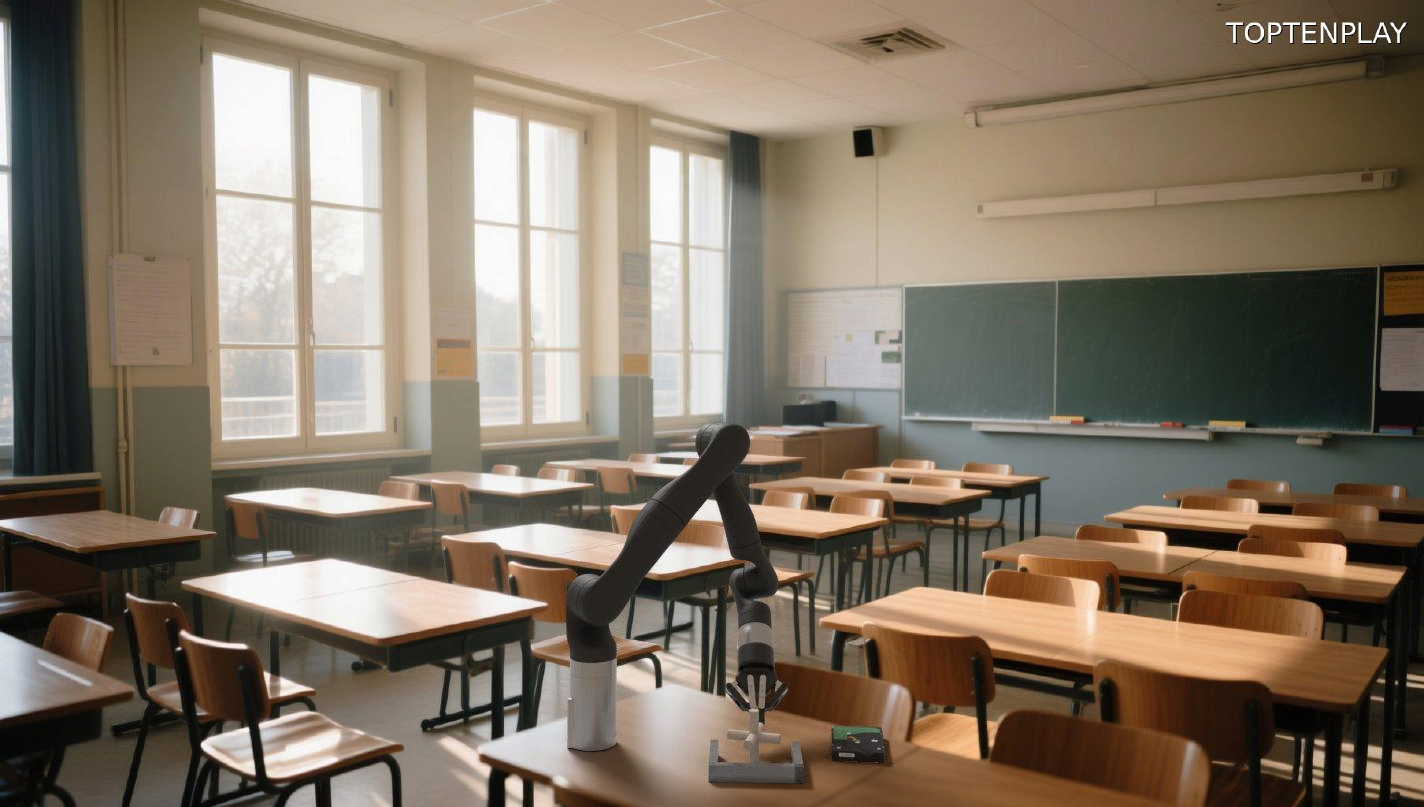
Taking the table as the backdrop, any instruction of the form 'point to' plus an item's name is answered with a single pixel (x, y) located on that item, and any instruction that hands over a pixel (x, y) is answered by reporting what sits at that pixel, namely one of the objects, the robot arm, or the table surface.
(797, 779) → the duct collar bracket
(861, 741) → the disk drive
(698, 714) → the table surface
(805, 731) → the table surface
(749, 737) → the pipe connector
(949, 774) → the table surface
